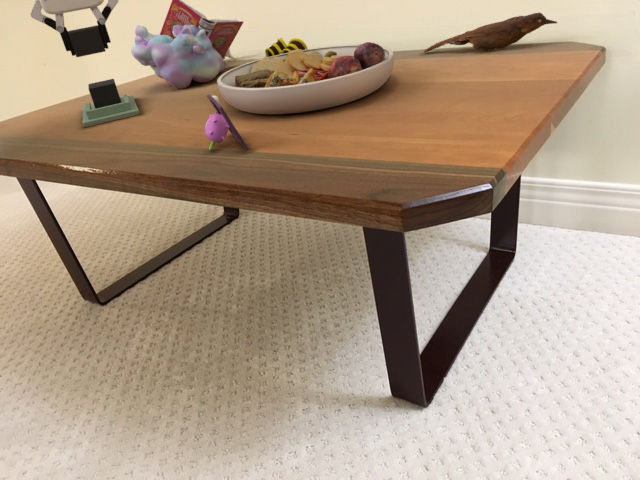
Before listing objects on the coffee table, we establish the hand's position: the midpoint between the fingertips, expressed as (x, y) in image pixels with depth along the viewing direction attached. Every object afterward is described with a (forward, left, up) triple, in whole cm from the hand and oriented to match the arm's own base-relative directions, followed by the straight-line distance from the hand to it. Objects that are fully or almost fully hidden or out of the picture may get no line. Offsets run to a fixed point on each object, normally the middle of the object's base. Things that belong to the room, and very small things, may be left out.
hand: (90, 50), depth 97 cm
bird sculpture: (+70, -20, -12) cm, 74 cm away
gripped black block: (0, 0, 0) cm, 0 cm away
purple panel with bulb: (+14, -38, -12) cm, 42 cm away
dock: (0, +2, -12) cm, 12 cm away
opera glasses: (+40, +12, -12) cm, 43 cm away
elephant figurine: (+28, +30, -12) cm, 43 cm away
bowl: (+33, -21, -12) cm, 41 cm away
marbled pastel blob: (+19, +16, -12) cm, 27 cm away
